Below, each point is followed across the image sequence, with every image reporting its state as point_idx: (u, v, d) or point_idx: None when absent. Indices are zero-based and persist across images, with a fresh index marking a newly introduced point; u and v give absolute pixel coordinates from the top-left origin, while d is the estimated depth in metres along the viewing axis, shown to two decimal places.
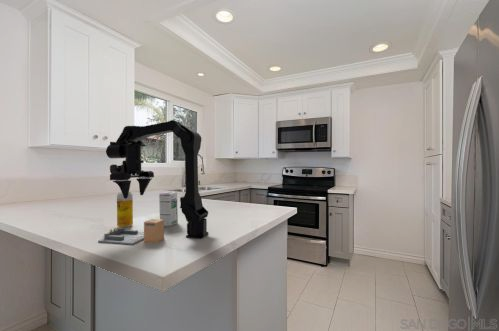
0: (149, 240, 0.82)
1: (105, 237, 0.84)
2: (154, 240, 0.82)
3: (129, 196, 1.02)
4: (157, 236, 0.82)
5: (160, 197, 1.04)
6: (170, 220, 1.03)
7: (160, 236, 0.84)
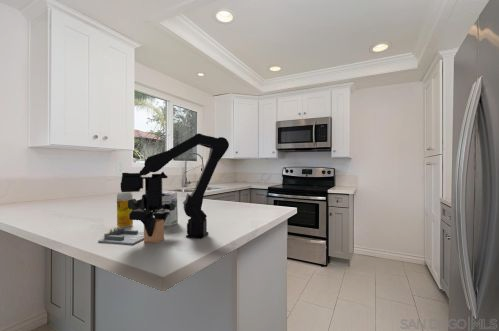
0: (149, 240, 0.82)
1: (105, 237, 0.84)
2: (154, 240, 0.82)
3: (129, 196, 1.02)
4: (157, 236, 0.82)
5: None
6: (170, 220, 1.03)
7: (160, 236, 0.84)
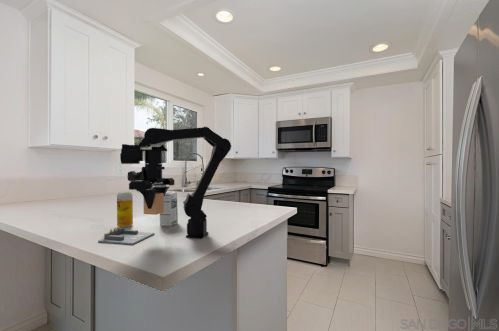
0: (149, 212, 0.82)
1: (105, 237, 0.84)
2: (154, 212, 0.82)
3: (129, 196, 1.02)
4: (157, 208, 0.82)
5: None
6: (170, 220, 1.03)
7: (159, 209, 0.84)
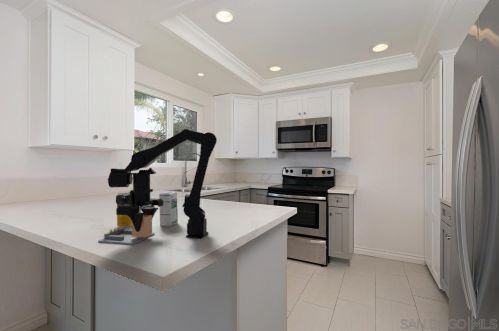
0: (137, 235, 0.83)
1: (105, 237, 0.84)
2: (141, 235, 0.83)
3: None
4: (145, 231, 0.83)
5: (160, 197, 1.04)
6: (170, 220, 1.03)
7: (148, 231, 0.85)
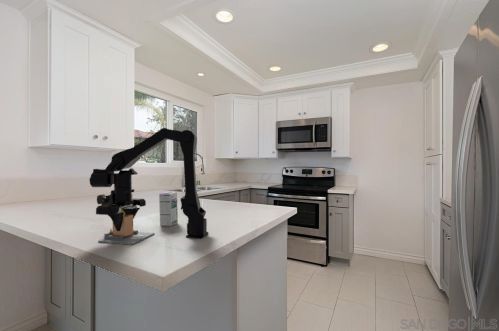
0: (117, 234, 0.85)
1: (105, 237, 0.84)
2: (122, 234, 0.84)
3: None
4: (125, 231, 0.85)
5: (160, 197, 1.04)
6: (170, 220, 1.03)
7: (128, 231, 0.86)
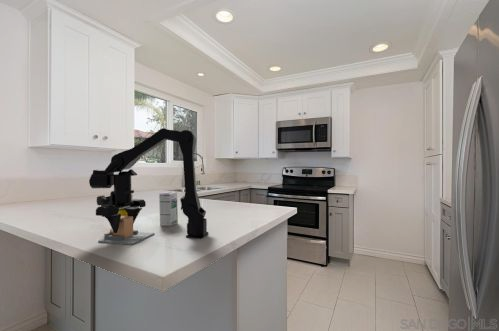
0: None
1: (105, 237, 0.84)
2: None
3: None
4: (125, 232, 0.85)
5: (160, 197, 1.04)
6: (170, 220, 1.03)
7: (128, 232, 0.87)
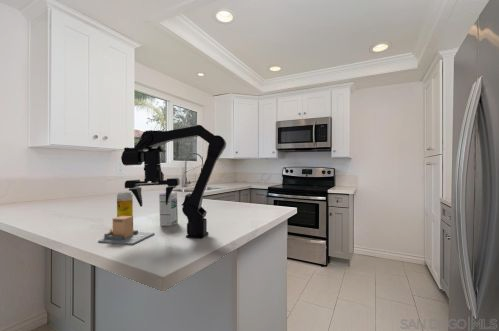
0: None
1: (105, 237, 0.84)
2: None
3: (129, 196, 1.02)
4: (125, 232, 0.85)
5: (160, 197, 1.04)
6: (170, 220, 1.03)
7: (128, 232, 0.87)
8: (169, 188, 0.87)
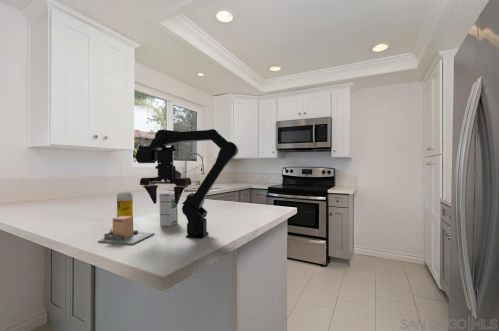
0: None
1: (105, 237, 0.84)
2: None
3: (129, 196, 1.02)
4: (125, 232, 0.85)
5: (160, 197, 1.04)
6: (170, 220, 1.03)
7: (128, 232, 0.87)
8: (177, 188, 0.86)
